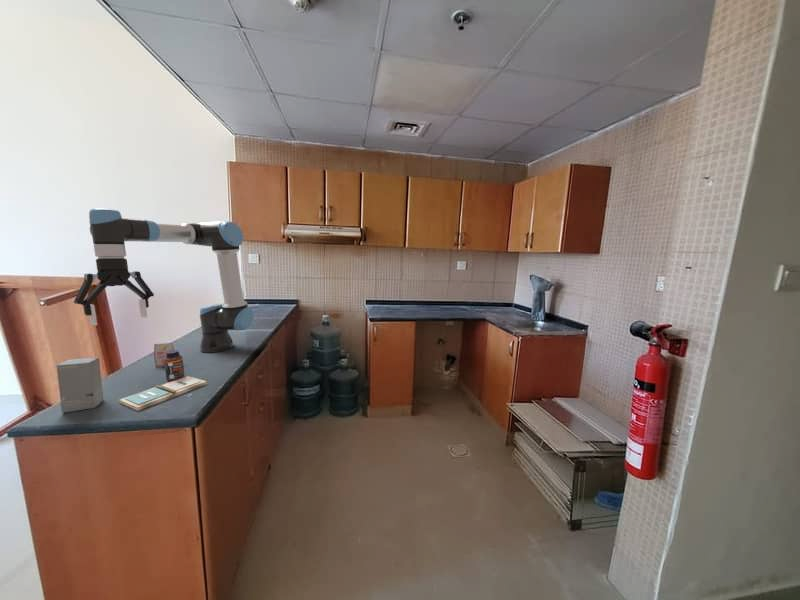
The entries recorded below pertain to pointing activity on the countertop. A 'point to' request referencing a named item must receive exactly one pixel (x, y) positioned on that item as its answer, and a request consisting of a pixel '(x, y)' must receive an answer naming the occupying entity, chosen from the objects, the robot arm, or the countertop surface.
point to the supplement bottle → (174, 365)
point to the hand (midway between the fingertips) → (120, 320)
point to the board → (163, 398)
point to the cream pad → (181, 383)
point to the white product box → (161, 352)
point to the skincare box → (80, 384)
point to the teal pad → (147, 396)
